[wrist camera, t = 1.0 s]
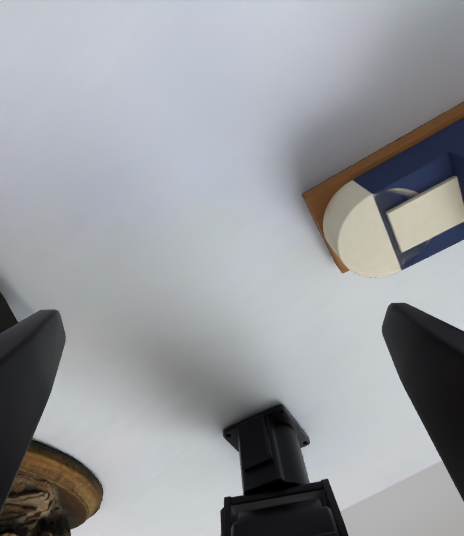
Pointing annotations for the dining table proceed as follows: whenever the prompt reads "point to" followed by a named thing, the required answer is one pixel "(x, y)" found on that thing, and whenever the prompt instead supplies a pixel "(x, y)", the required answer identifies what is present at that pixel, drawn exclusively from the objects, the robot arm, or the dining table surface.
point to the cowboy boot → (6, 315)
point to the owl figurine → (49, 495)
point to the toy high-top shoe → (396, 201)
